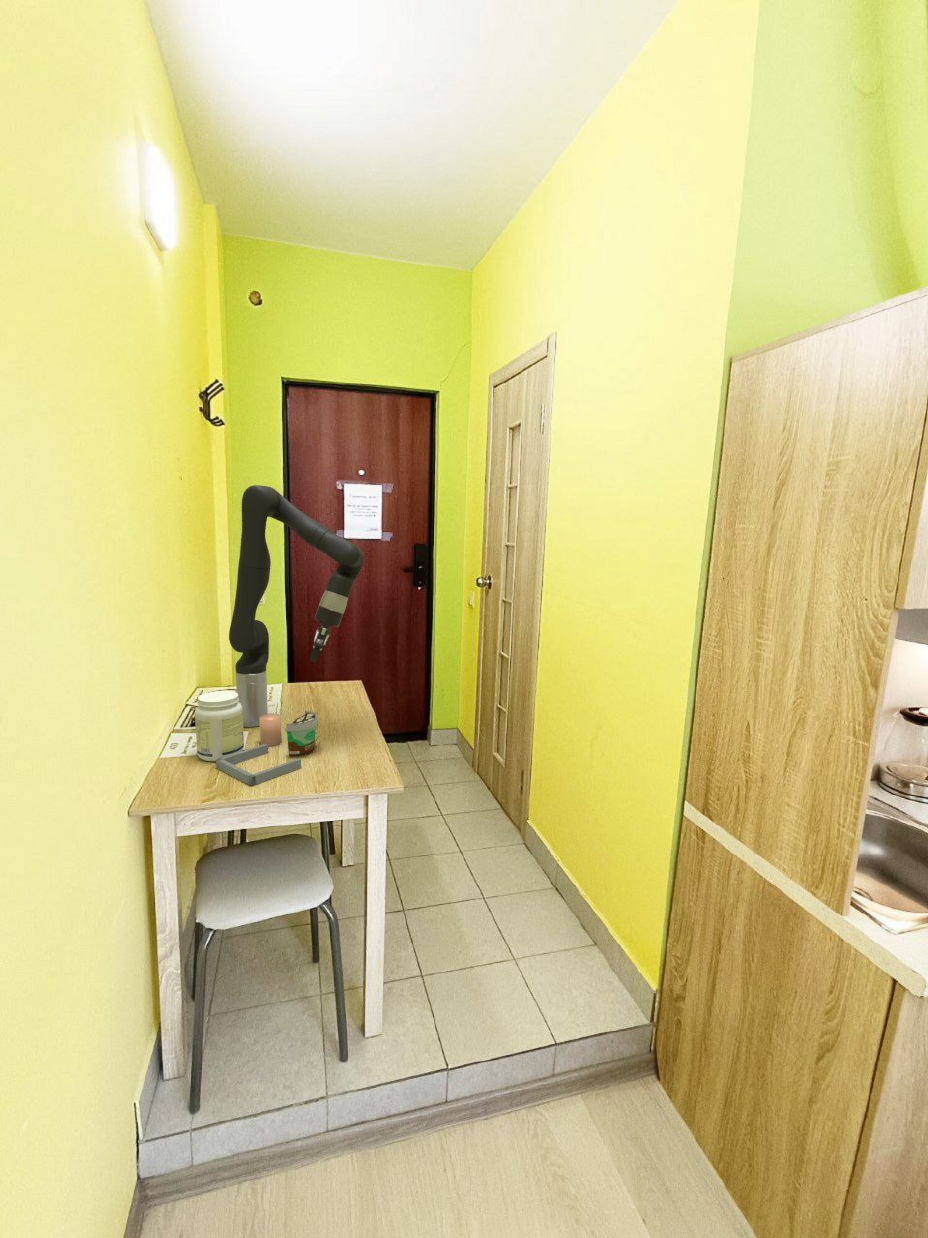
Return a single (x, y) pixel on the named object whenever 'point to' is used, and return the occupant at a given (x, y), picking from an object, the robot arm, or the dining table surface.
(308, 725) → the food container
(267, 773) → the frame
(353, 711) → the dining table surface
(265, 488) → the robot arm
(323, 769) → the dining table surface
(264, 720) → the peach rounded cylinder
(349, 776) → the dining table surface
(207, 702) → the supplement tub
